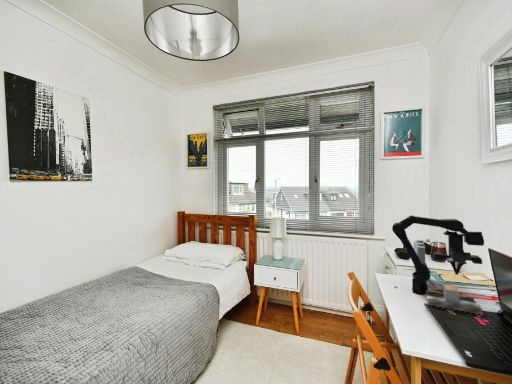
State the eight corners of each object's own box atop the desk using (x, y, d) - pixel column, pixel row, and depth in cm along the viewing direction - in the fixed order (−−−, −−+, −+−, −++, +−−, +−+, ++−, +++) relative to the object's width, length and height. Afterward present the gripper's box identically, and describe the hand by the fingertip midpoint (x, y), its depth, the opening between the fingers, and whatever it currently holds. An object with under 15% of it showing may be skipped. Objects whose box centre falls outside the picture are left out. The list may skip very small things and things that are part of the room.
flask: (428, 286, 135) (426, 243, 135) (418, 285, 137) (417, 242, 137) (422, 276, 151) (421, 237, 150) (414, 275, 153) (412, 236, 152)
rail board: (427, 306, 114) (427, 300, 114) (424, 295, 125) (424, 289, 125) (483, 316, 104) (483, 309, 104) (474, 303, 115) (474, 297, 115)
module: (445, 302, 113) (445, 289, 113) (443, 296, 119) (442, 284, 119) (459, 304, 111) (459, 291, 110) (456, 298, 117) (455, 285, 116)
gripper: (435, 246, 119) (436, 277, 119) (485, 249, 109) (486, 283, 110) (432, 241, 128) (433, 269, 129) (478, 244, 119) (479, 275, 119)
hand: (456, 274), depth 121 cm, fingers closed
